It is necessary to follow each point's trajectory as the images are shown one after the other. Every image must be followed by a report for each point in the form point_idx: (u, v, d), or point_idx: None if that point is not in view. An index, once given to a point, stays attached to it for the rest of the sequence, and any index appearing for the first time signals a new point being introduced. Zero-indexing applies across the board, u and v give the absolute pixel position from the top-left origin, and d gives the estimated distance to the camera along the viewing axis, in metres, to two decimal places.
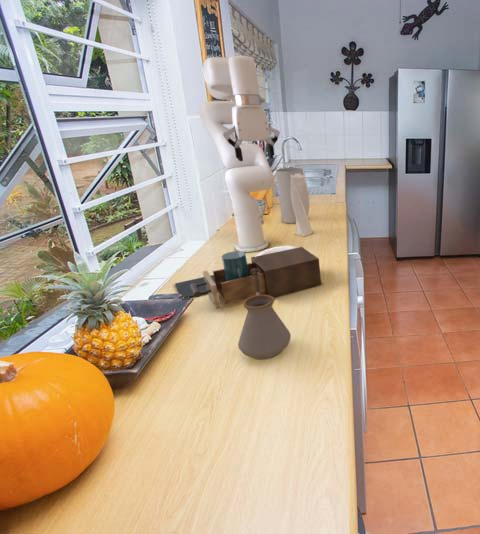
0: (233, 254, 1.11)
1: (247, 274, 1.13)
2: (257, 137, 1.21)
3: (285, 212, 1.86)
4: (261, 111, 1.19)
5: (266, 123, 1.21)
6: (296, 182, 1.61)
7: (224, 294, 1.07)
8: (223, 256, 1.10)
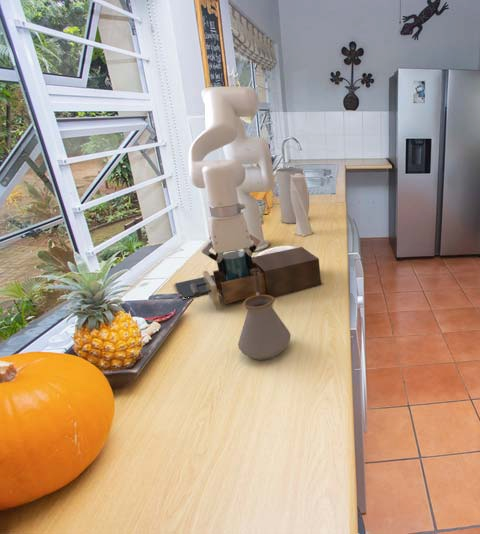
0: (233, 254, 1.11)
1: (247, 274, 1.13)
2: (237, 246, 1.09)
3: (285, 212, 1.86)
4: (241, 220, 1.07)
5: (246, 231, 1.09)
6: (296, 182, 1.61)
7: (224, 294, 1.07)
8: (223, 256, 1.10)
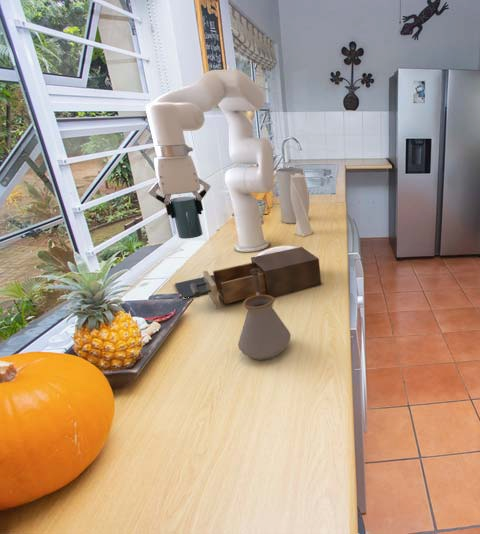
0: (183, 198, 1.11)
1: (197, 219, 1.13)
2: (185, 189, 1.09)
3: (285, 212, 1.86)
4: (188, 162, 1.07)
5: (195, 174, 1.09)
6: (296, 182, 1.61)
7: (224, 294, 1.07)
8: (172, 199, 1.10)
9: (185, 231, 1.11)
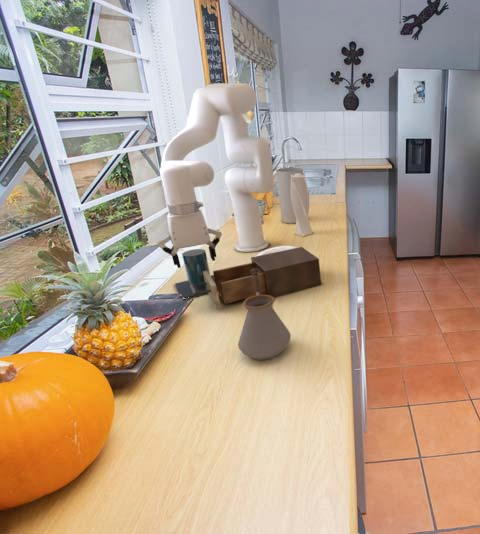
0: (194, 252, 1.17)
1: (207, 270, 1.19)
2: (196, 242, 1.15)
3: (285, 212, 1.86)
4: (198, 217, 1.13)
5: (205, 228, 1.15)
6: (296, 182, 1.61)
7: (224, 294, 1.07)
8: (183, 253, 1.16)
9: (196, 282, 1.18)
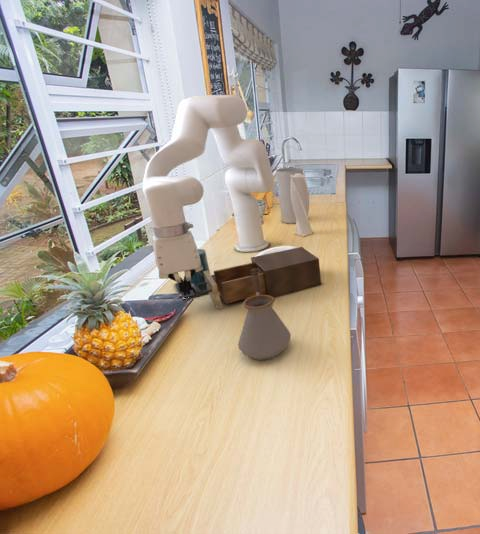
0: None
1: (207, 270, 1.19)
2: (185, 267, 1.03)
3: (285, 212, 1.86)
4: (188, 240, 1.02)
5: (195, 251, 1.04)
6: (296, 182, 1.61)
7: (225, 294, 1.07)
8: None
9: (196, 282, 1.18)
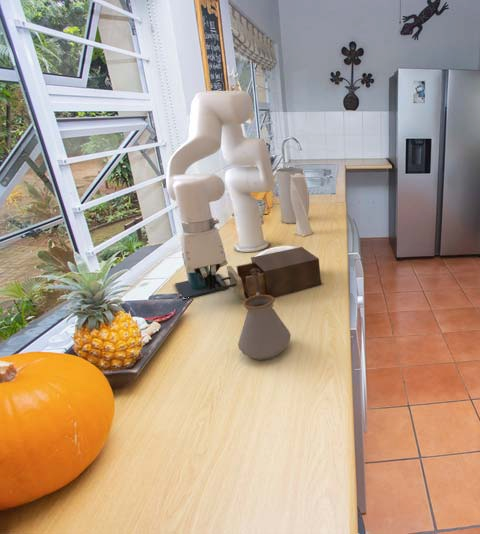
0: None
1: (207, 270, 1.19)
2: (211, 262, 1.07)
3: (285, 212, 1.86)
4: (214, 235, 1.05)
5: (221, 246, 1.07)
6: (296, 182, 1.61)
7: (249, 288, 1.11)
8: None
9: (196, 282, 1.18)
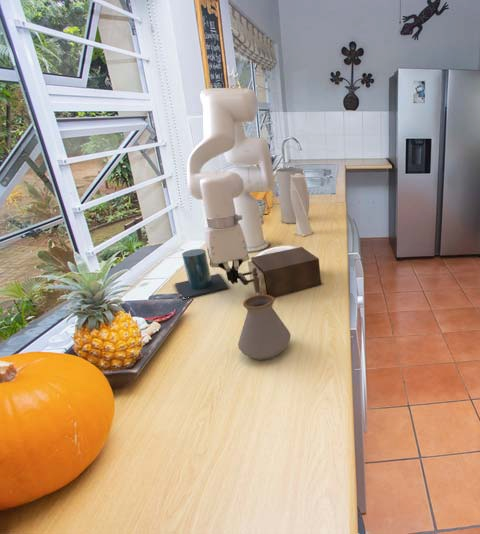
0: (194, 252, 1.17)
1: (207, 270, 1.19)
2: (234, 257, 1.10)
3: (285, 212, 1.86)
4: (238, 231, 1.08)
5: (243, 242, 1.10)
6: (296, 182, 1.61)
7: None
8: (183, 253, 1.16)
9: (196, 282, 1.18)
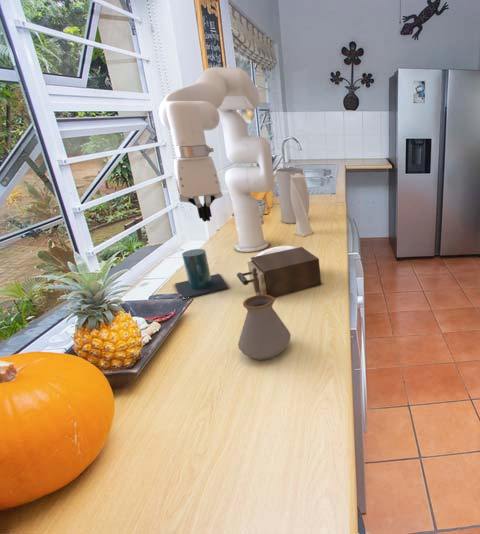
0: (194, 252, 1.17)
1: (207, 270, 1.19)
2: (205, 192, 1.04)
3: (285, 212, 1.86)
4: (208, 163, 1.02)
5: (215, 176, 1.04)
6: (296, 182, 1.61)
7: None
8: (183, 253, 1.16)
9: (196, 282, 1.18)
